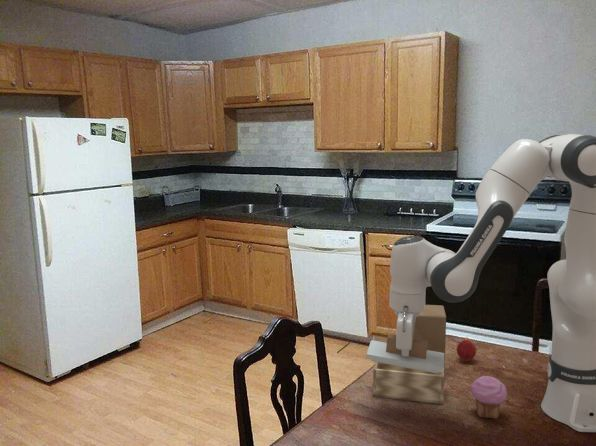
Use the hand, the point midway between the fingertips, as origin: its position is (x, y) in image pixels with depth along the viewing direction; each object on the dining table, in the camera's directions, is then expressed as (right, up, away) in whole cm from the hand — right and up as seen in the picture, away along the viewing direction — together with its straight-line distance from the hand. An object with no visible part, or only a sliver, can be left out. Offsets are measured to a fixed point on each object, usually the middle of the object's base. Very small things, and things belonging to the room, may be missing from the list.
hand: (405, 352), depth 130 cm
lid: (0, -2, 0) cm, 2 cm away
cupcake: (+22, -17, +2) cm, 28 cm away
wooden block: (+12, -13, +26) cm, 32 cm away
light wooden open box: (+4, -15, +14) cm, 21 cm away
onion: (+26, -11, +33) cm, 43 cm away
